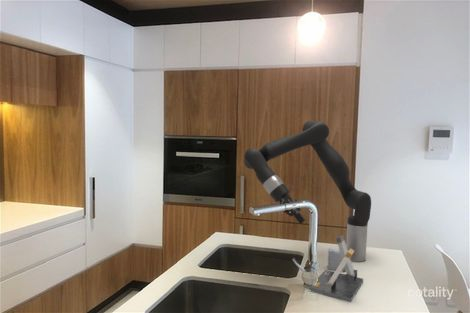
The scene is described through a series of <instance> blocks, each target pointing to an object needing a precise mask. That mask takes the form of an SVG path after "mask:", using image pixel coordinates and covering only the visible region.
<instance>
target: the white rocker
mask: <svg viewBox="0 0 470 313" xmlns="http://www.w3.org/2000/svg"><path fill="white" fill-rule="evenodd" d="M353 253H354V250H353V249H351V248H350V250H349V251H348V252H347V253H346V255H345V257H344V258H343V260H342V261H341V263H340V265H339V266H338V268H337V269H336V270H334V271H333V272H334V274H333V276H332V277H331V279H330V280H329V281H328V284H332V286H333V285H334V282H335V280H336V279H337V277H338V276H339V274H340V273H341V274H342V272H343V271H342V270H343V268H344V266H345V265H346V263H347V262H348V260H349V259H350V257H351V256H352V254H353Z"/></svg>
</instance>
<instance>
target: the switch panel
mask: <svg viewBox="0 0 470 313" xmlns="http://www.w3.org/2000/svg"><path fill="white" fill-rule="evenodd" d="M353 270H354V272H355V274H356V275H355V277H354V276H353V275H349V274H347V273H346V274H344V273H342V272H341V273H340V274H339V276H338V277H337V279H336V280H335V282H334V285H333V286H332V284H328V281H329V280H330V279H331V277H332V276H333V274H334V272H335V271H334V270H328V269H324V270H323V271H322V272H321V273H320V275H319V276H318V277H317V278H318V281H317V285H315V286H311V285H309V287H308V291H309V290H311V291H310V292H312V291H313V293H316V294H320V295H324V296H327V297H331V298H334V299H338V300H342V301H345V302H349V303H352V302H353V300H354V298H355V297H356V294H357V293H358V291H359V289H361V286H363V284H364V278H363V277H358V270H357V269H354V268H353Z"/></svg>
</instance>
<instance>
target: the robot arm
mask: <svg viewBox="0 0 470 313" xmlns="http://www.w3.org/2000/svg"><path fill="white" fill-rule="evenodd" d="M301 131H302V132H299V133H295V134H293V135H289V136H285V137H284V136H282V137H280V138H278V139H274V140H272V141H270V142H267V143H266V144H263V145H262V147H261V148H260V149H257V148H254V147H249V148H248V149H247V150H246V151H245V152H244V156H243V163H244V166H245V167H246V168H247V169H253V171H254V173H255V176H256V178H257V180H258V181H259V182H260V183H261V185H262V186H263V188H264V189H265V191H266V192H267V193H268V195H269V196H270V197H271V199H272V200H273V201H274V203H279V204H280V205H281V204H284V203H290V202H294V201H298V200H297V199H293V198H292V196H290V193H291V190H290V189H289V188H288V187H287V186H286V185H285V183H284V182H283V181H282V180H281V178H280V177H279V176H278V175H277V174H276V173H275V172H274V171H273V169H272V168H271V167H270V166H269V163H268V162H270V161H271V160H273V159H276V158H278V157H280V156H283V155H284V154H287V153H290V152H292V151H294V150H297V149H299V148H302V147H306V146H311V148H312V149H313V150H314V151H315V153H316V155H317V157H318V159H320V162H321V163H322V165H323V166H324V168H325V171H326V172H327V173H328V175H329V176H330V178H331V179H332V180H333V182H334V184H335V185H336V187H337V188H338V190H339V193H340V195H341V196H342V199H343V201H344V203H345V205H346V206H347V207H349V209H351V210H352V209H353V210H354V213H353V215H350V216H348V217H347V226H346V227H347V228H346V241H345V244H346V247H347V250H348V251H349V250H350V248H351V249H353V250H354V253H353V254H352V256H351V257H350V260H351V262H358V263H361V262H365V261H366V259H367V258H366V257H367V256H366V255H367V241H368V240H367V239H368V224H369V221H370V219H371V218H370V217H371V209H372V197H371V195H370V194H369V193H368V192H364V191H361V190H357V189H356V187H355V186H354V185H353V183H352V182H351V180H350V174H351V172H350V168H349V166H348V164H347V162H346V161H345V159H344V157H342V155H341V154H340V153H339V152H338V151H337V150H336V149H335V148H334V146H332V145H331V144H330V142H329V141H328V139H327V138H328V137H329V135H330V129H329V126H328V125H327V124H326V123H324V122H323V121H318V120H308V121H306V122H305V123H304V124H303V125H302V130H301ZM301 210H302V209H301V208H296V209H291V210H285V211H283V213H285V214H287V215H288V216H290V217H294V218H295V219H296V221H297V222H298V223H299V224H300V225H302V224H303V223H304V222H306V218H305V217H304V216H303V215H302V214H301Z"/></svg>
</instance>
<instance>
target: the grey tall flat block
mask: <svg viewBox="0 0 470 313" xmlns="http://www.w3.org/2000/svg"><path fill="white" fill-rule="evenodd" d="M335 239H336V244H337V246H338V249H339V250H340V253H341V256H342V260H343V258H344V257H345V255H346V253H347V252H348V250H347V247H346V241H345V237H344V234H341V235H338V236H337V237H335ZM353 269H354V268H353V265H352V261H351V260H350V259H349V260H348V262H347V263H346V265H345V270H346V274H349V275H353V276H354V277H355V275H356V274H355V272H354V270H355V269H354V270H353Z"/></svg>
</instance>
